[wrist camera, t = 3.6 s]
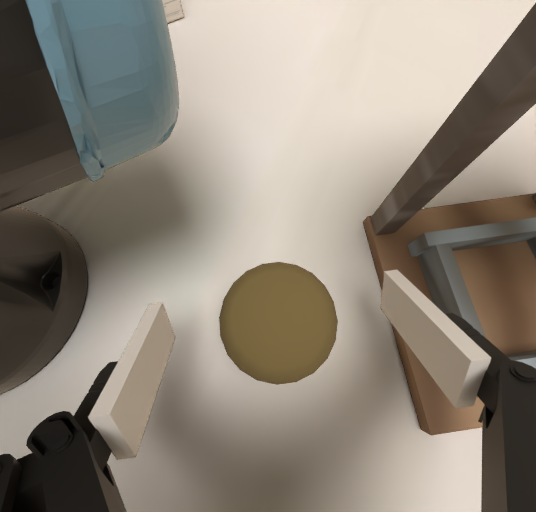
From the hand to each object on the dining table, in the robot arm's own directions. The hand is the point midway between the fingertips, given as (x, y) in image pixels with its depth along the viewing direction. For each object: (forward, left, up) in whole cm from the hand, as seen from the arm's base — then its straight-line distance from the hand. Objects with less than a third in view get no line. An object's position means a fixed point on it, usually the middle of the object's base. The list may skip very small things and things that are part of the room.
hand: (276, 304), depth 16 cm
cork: (+1, -1, -6) cm, 6 cm away
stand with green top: (+13, +11, -6) cm, 18 cm away
